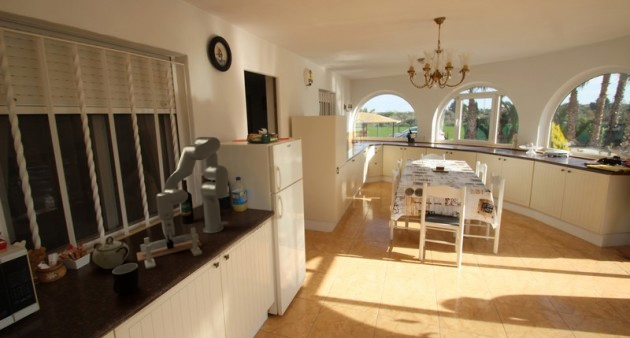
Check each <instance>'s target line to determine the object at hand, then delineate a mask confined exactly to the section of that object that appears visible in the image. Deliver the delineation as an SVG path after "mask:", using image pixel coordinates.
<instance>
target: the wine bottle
mask: <svg viewBox="0 0 630 338" xmlns="http://www.w3.org/2000/svg"><path fill="white" fill-rule="evenodd" d="M187 182H188V181H187V179H182V180H181V184H182V190H184V191H186V192H187V194H188V198H187V200H186V201H185V202H183V203H179V205H180V215H181V221H182V224H183V225H190V224H194V223H195V218H194V217H195V215H194V207H193V195H192V193H191V192H190V191H188V183H187Z"/></svg>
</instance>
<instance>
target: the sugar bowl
mask: <svg viewBox="0 0 630 338" xmlns="http://www.w3.org/2000/svg"><path fill="white" fill-rule="evenodd" d="M109 239H110V240H109ZM93 250H94V251H93V252H92V256H91V259H92V261H93V262H94V263H95V264H96V265H97V266H99V267H100V268H102V269H105V270H109V269H110V270H111V269H115V268H116V267H118V266H121V265H124V264H123V263H124V261H125V260H126V259H127V257H128V255H129V252H130V247H129V246H128V244H127V243H125V242H123V241H121V240H114V238H113V237H112V235H111V236H110V235H109V236H107V238H106V239H105V243H99V242H96V243H94V244H93Z"/></svg>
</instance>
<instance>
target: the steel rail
mask: <svg viewBox="0 0 630 338" xmlns="http://www.w3.org/2000/svg"><path fill="white" fill-rule="evenodd" d="M172 238H173V244H174V245H176V244H180V243H184V242H188V241H192V234H191V232H190V233H185V234H181V235H178V236H172ZM149 244H150V246H151V250H155V249H159V248H163V247H167V239H166V238H164V239H161V240H160V239H159V240H156V241H152V242H149ZM139 246H140V252H142V253H143V252H146V251H145V243H143V244H142V243H141V244H140V245H139Z"/></svg>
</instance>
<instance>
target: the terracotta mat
mask: <svg viewBox="0 0 630 338" xmlns="http://www.w3.org/2000/svg"><path fill="white" fill-rule="evenodd" d="M196 241H197V247H201V246H202V242H200V240H199V239H198V240H196ZM192 248H193V244H192V241H188V242H184V243H180V244H176V245H174V248H171V249H167V247H163V248H159V249H155V250H151V251H150V252H151V259H154V258H158V257H161V256H166V255H169V254H174V253H177V252H181V251H185V250H189V249H190V250H191V249H192ZM136 257H137V262H138V263H139V262H143V261H145V260H147V258H146V252H143V253H142V252H141V251H139V252H136Z"/></svg>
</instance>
